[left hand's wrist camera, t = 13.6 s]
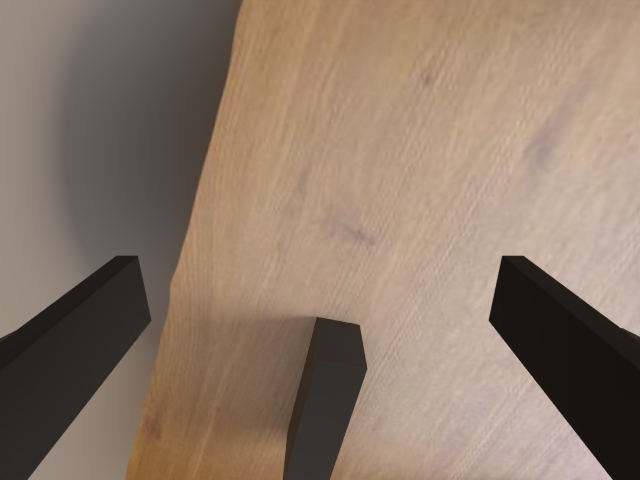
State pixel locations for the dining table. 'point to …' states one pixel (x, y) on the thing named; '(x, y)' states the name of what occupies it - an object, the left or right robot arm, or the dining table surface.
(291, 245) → the dining table surface
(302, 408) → the box
